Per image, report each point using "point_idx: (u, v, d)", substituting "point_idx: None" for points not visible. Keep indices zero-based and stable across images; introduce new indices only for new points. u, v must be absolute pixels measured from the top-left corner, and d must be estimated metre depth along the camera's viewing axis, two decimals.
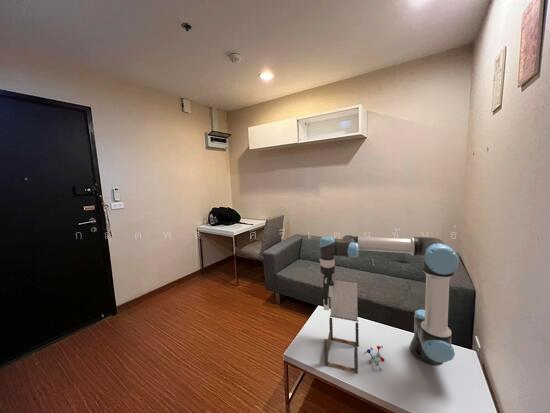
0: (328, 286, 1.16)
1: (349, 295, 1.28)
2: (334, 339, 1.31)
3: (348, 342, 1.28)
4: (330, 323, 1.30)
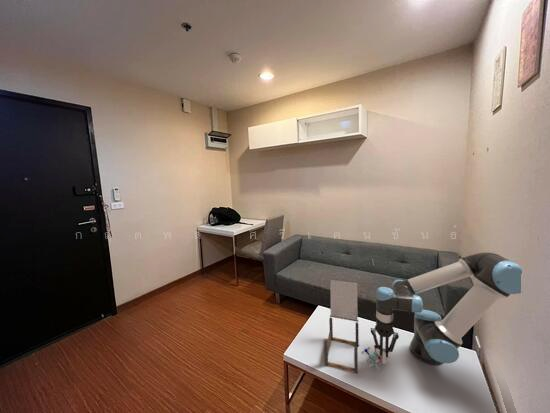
0: (380, 339, 1.11)
1: (349, 295, 1.28)
2: (334, 339, 1.31)
3: (348, 342, 1.28)
4: (330, 323, 1.30)
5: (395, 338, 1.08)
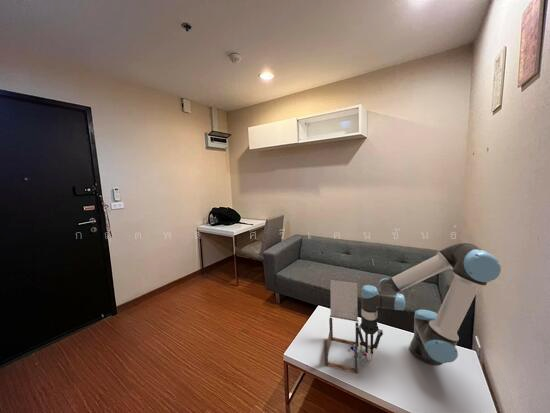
0: (365, 336, 1.14)
1: (349, 295, 1.28)
2: (334, 339, 1.31)
3: (348, 342, 1.28)
4: (330, 323, 1.30)
5: (379, 335, 1.11)
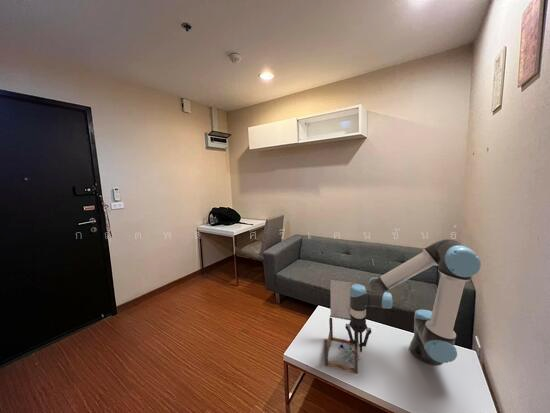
0: (354, 334, 1.16)
1: (349, 295, 1.28)
2: (334, 339, 1.31)
3: (348, 342, 1.28)
4: (330, 323, 1.30)
5: (368, 333, 1.13)
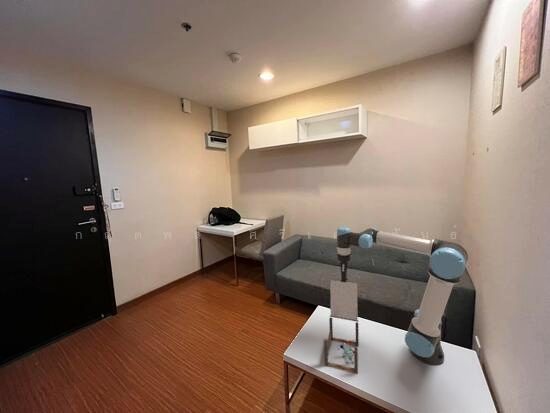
0: None
1: (349, 295, 1.28)
2: (334, 339, 1.31)
3: (348, 342, 1.28)
4: (330, 323, 1.30)
5: None
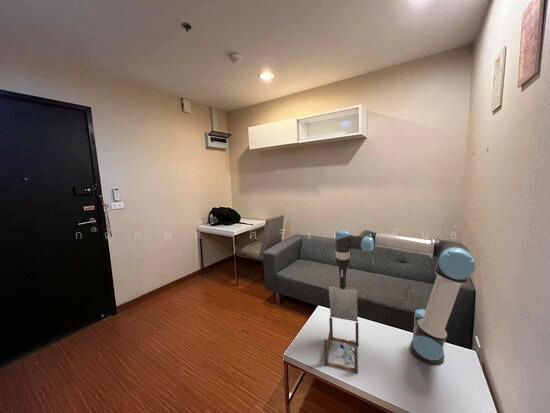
0: None
1: (348, 300, 1.23)
2: (334, 339, 1.31)
3: (348, 342, 1.28)
4: (330, 323, 1.30)
5: None
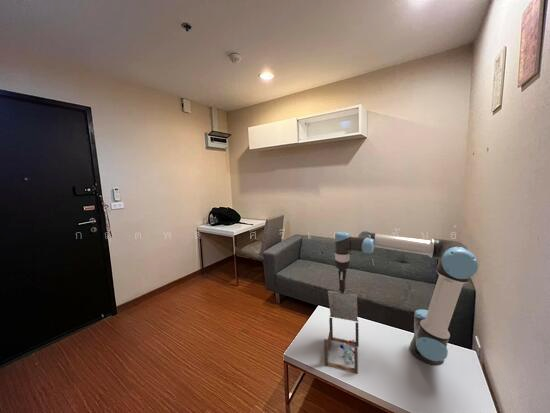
0: (344, 280, 1.21)
1: (348, 303, 1.22)
2: (334, 339, 1.31)
3: (348, 342, 1.28)
4: (330, 323, 1.30)
5: None
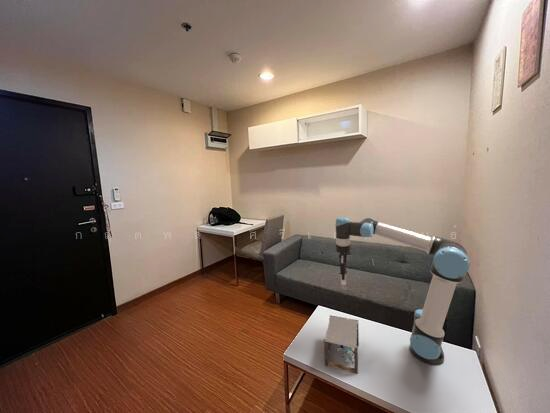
0: None
1: None
2: None
3: None
4: None
5: None
